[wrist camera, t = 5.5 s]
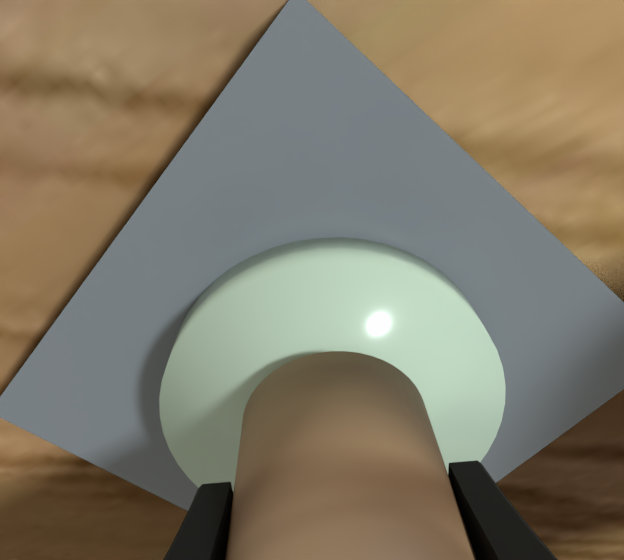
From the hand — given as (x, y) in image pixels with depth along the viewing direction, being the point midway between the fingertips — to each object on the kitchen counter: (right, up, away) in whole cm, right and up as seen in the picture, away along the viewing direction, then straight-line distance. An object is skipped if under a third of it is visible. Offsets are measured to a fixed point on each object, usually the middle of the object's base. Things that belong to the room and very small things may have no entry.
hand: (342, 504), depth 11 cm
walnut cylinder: (0, +1, +2) cm, 2 cm away
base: (0, +3, +5) cm, 6 cm away
